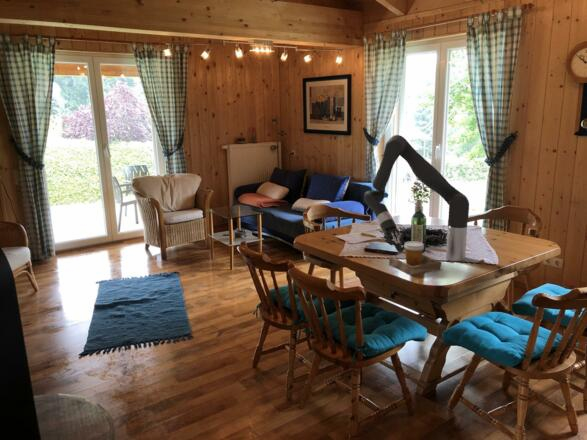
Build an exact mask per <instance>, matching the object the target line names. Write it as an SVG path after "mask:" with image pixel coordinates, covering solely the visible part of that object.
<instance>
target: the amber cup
mask: <svg viewBox="0 0 587 440" xmlns="http://www.w3.org/2000/svg"><path fill="white" fill-rule="evenodd" d="M403 247H404V251H405V263H407V264H409V265H411V266H417V265H422V263H421V259H422V254H423V253H424V248H425V245H424V243H423V242H421V241H415V240H413V241H412V240H411V241H410V240H409V241H406V242H404V245H403ZM423 255H424V254H423Z"/></svg>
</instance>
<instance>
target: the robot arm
mask: <svg viewBox="0 0 587 440" xmlns="http://www.w3.org/2000/svg"><path fill="white" fill-rule="evenodd" d="M399 157H402V159H403V160H404V161H405V162H406V163H407V164H408V166H409V167H410V169H411V171H412V173H413V174H414V175H415V177H416V178H417V179H418V180H419V181H420V182H421V183H422V184H424V186H426V187H427V188H429V189H430V190H431V191H433V192H435V193H437V194H438V195H439V196H440V197H441V198H442V199H443V200H444V201H445V202H446V203H447V205H448V219H447V235H446V251H445V252H446V253H445V258H446V260H449V261H452V262H462V261H465V260H466V253H467V251H466V250H467V235H468V222H469V213H470V202H469V200H468V197H467V196H466V195H465V194H463V193H462V192H461V191H460V190H458V189H457V188H456V187H454V186H453V185H452V184H451V183H450V182H449V181H448V180H447V179H446V178H445V177H444V176H443V174H441V173H440V171H439V170H437V168H435V166H433V165H432V163H430V162H429V161H428V160H427V159H425V158H424V156H423V155H421V154H420V153H419V152H417V150H416V149H415V148H414V147H413V146H412V145H411V144H410V142H409V141H408V140H407V139H406V138H405V137H404V136H402V135H399V134H395V135H393V136H391V137H390V138H389V139H388V140H387V142H386V143H385V145H384V151H383V157H382V159H381V162H380V165H379V168H378V170H377V172H376V174H375V176H374V178H373V182H372V183H371V184H372V188H374V189H375V190H374V189H373V190H367V191H365V192H364V194H363V196H364V197H363V198H364V199H363V200H364V202H365V204H366V205H367V206H368V208H370V210H371V211H372V212H373V213H374V215H375V218H376V220H377V223H378V225H379V227H380V230H381V231H382V233H383V236H382V238H381V240H383V241H384V242H385V243H387V244H388V245H390V246H394V247H395V250H396V252H398V253H399V252H402V251H403V249H404V248H403V246H402V242H403V241H404V236H405V232H400V230H399V229H398V228H397V224H396V222H395V221H394V218H393V216H392V215H391V213H390V211H389V210H388V208H387V205H385V204H384V203H382V202H383V201H384V199H385V192H386V187H387V185H388V182H389V180H390V177H391V173H392V170H393V167H394V165H395V163H396V162H397V159H398V158H399Z"/></svg>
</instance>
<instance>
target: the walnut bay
mask: <svg viewBox="0 0 587 440" xmlns="http://www.w3.org/2000/svg"><path fill="white" fill-rule="evenodd" d="M388 266H390V267H393V268H394V269H397V270H399V271H401V272H403V273H405V274H407V275H409V276H411V277H414V276H418V275H424V274H428V273H432V272H438V271H441V269H442V268H441V267H442V261H439V260H438V259H434V258H433V257H430V256H428V255H425V254H422V259H421V265H417V266H411V265H409V264H407V263H406V262H404V261H402V260H400V259H397V258H395V257H393V256H389V259H388Z"/></svg>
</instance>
